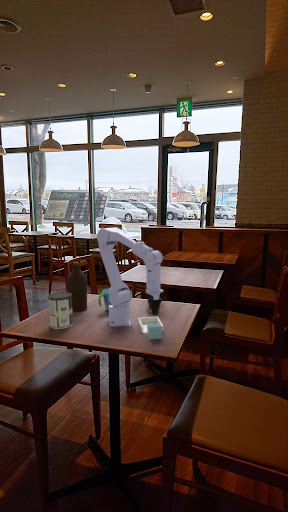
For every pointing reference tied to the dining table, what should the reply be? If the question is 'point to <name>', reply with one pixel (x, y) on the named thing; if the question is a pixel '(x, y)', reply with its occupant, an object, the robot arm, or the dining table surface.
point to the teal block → (154, 330)
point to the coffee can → (60, 310)
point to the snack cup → (105, 298)
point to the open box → (145, 320)
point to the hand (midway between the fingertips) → (153, 311)
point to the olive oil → (77, 288)
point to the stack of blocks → (150, 309)
